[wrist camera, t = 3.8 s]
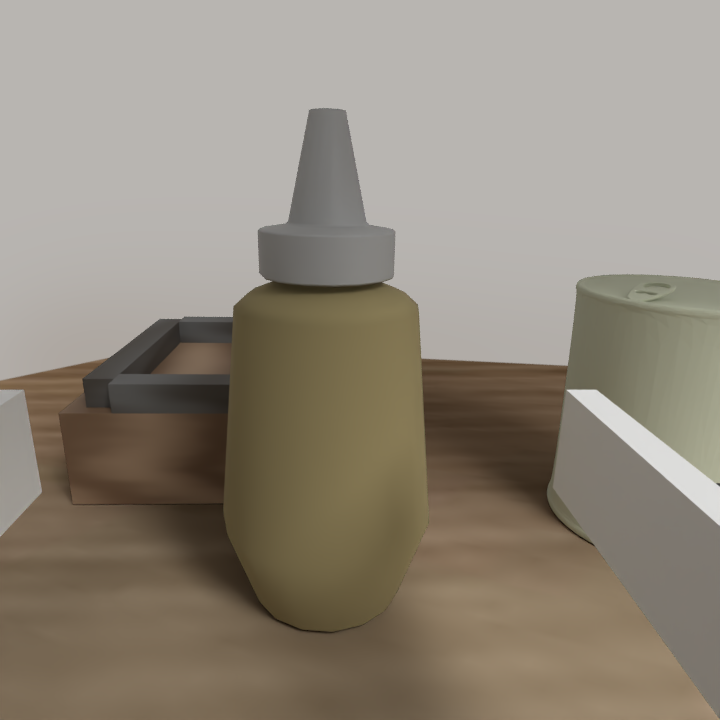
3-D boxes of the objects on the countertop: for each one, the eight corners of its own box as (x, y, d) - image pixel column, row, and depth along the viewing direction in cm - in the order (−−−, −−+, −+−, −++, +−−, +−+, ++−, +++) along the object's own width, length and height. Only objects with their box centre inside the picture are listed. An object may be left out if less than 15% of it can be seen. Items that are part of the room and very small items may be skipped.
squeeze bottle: (460, 572, 24) (500, 116, 18) (340, 704, 18) (346, 79, 12) (319, 506, 29) (317, 127, 23) (185, 592, 22) (140, 104, 17)
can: (510, 499, 30) (536, 273, 26) (607, 454, 35) (640, 260, 31) (691, 601, 22) (761, 309, 19) (779, 525, 28) (847, 285, 24)
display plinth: (370, 401, 42) (372, 318, 40) (386, 502, 29) (391, 384, 27) (157, 401, 42) (148, 316, 40) (72, 504, 28) (54, 384, 26)
